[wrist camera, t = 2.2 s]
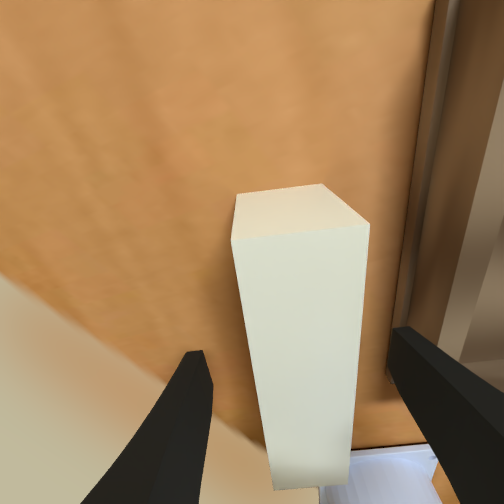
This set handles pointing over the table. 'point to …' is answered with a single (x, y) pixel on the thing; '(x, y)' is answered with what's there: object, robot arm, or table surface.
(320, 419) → the white rectangular block
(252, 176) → the table surface
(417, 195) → the tray
